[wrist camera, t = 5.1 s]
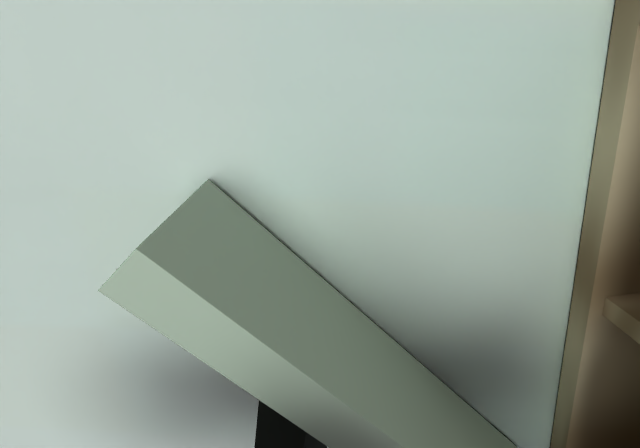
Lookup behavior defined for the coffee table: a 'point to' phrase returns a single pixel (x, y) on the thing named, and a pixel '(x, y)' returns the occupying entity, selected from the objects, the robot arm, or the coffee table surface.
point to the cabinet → (608, 267)
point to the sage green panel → (286, 333)
